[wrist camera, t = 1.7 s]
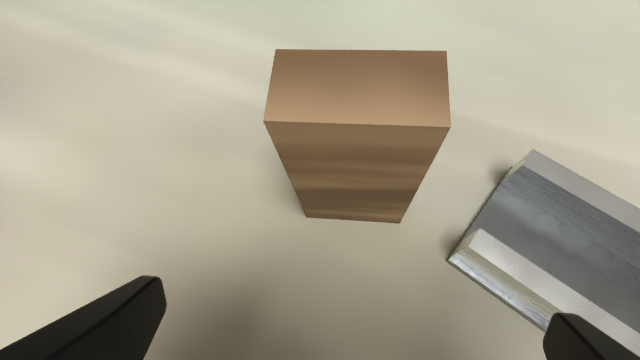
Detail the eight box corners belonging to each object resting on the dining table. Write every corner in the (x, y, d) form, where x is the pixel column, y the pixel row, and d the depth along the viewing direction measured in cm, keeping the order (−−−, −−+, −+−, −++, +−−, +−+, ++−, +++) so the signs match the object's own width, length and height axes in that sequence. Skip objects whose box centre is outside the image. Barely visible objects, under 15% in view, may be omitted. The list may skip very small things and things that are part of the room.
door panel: (399, 223, 22) (450, 127, 11) (306, 217, 22) (263, 120, 11) (399, 179, 23) (446, 50, 12) (311, 175, 23) (275, 49, 12)
